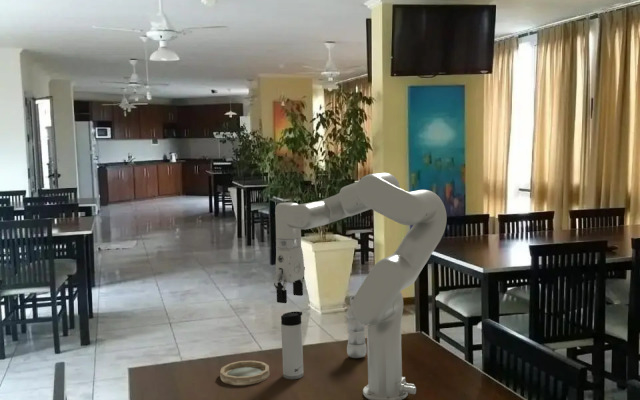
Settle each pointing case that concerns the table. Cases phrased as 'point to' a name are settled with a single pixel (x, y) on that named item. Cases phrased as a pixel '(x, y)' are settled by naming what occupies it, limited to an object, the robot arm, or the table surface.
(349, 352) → the plastic bottle
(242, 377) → the round tray
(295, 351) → the travel mug
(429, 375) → the table surface
